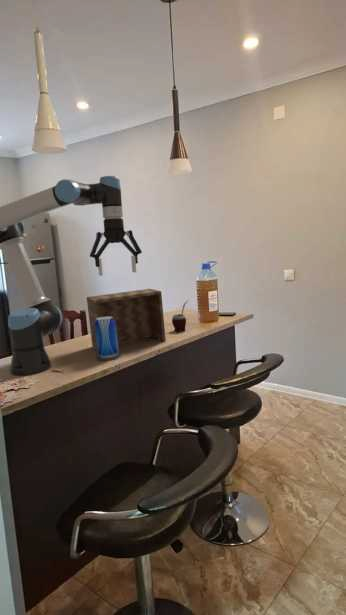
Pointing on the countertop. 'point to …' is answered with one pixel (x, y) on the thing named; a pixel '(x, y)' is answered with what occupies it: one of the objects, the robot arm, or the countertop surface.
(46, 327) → the robot arm
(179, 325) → the mate gourd
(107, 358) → the coaster
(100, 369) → the countertop surface
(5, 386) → the countertop surface
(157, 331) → the cubby
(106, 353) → the beer can
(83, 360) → the countertop surface
